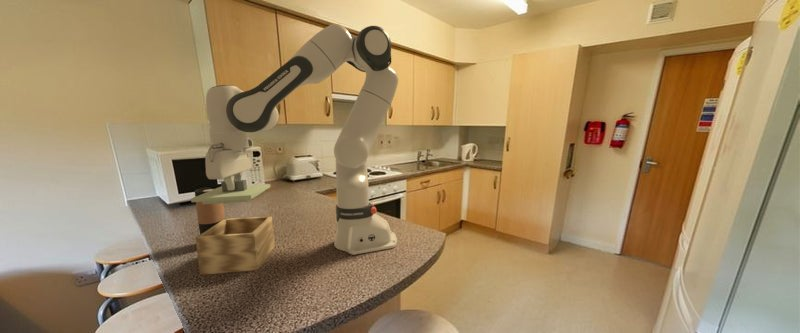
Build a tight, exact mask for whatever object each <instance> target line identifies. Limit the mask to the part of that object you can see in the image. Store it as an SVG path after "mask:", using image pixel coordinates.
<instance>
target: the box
mask: <svg viewBox="0 0 800 333" xmlns="http://www.w3.org/2000/svg"><path fill="white" fill-rule="evenodd" d="M273 221H274V219H273V215H272V216H256V217H255V216H254V217H239V218H237V217H236V218H235V217H234V218H225V219H224V220H222V221H221V222H219V223H218V224H216V225H214V226H213V227H211V228H210V229H208V230H207V231H205V232H204V233H202V234H201V235H200V234H199V235H197V236H196V237H195V238H194V239H195V246H196V253H197V259H198V260H197V261H198V268H199V275H200V276H204V275H215V274H216V275H217V274H227V273H237V272H249V271H258V270H259V269H260V267H261V266H262V265H263V263H265V261H266V259H267V258H268V256H269V255H270V254H271V253H272V251H273V249H274V248H275V247H276V246H275V245H276V243H275V233H274V232H275V231H274V222H273Z"/></svg>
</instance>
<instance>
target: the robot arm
mask: <svg viewBox="0 0 800 333" xmlns="http://www.w3.org/2000/svg"><path fill="white" fill-rule="evenodd" d="M344 63H347V64H348V65H351V66H352V67H354V68H355V69H356V70H358V71H360V72H363V73H365V79H364V82H363V85H362V87H361V89H360V91H359V93H358V95H357V97H356V99H355V102H354V104H353V106H352V107H351V110H350V113H349V115H348V116H347V119H346V121H345V123H344V125H343V127H342V129H341V131H340V133H339V136H338V137H337V140H336V142H335V143H334V147H333V155H334V157H335V181H336V182H335V184H336V186H335V187H336V206H335V218H336V223H337V224H336V233H335V238H334V242H333V244H334V245H333V246H334V247H335V248H336V249H338V250H339V251H343V252H346V253H347V254H348V255H349V254H350V255H352V256H353V255H361V254H365V253H372V252H377V251H382V250H389V249H393V248H395V247H397V245H398V238H397V235H396V233H395V232H393V231H392V230H391V227H390V224H389V223H388V221H387V220H386V219H385V218H383V217H382V216H380V215H379V214H377V207H376V206H375V205H374V203H373V202H372V203H371V202H370V198H369V197H370V196H369V195H370V194H369V193H370V192H369V174H368V173H369V172H368V158H369V156H370V153H371V150H372V148H373V146H374V143H375V141H376V138H377V136H378V134H379V131H380V129H381V126H382V124H383V121H384V119H385V117H386V116H387V114H388V111H389V110H390V107H391V105H392V102H393V100H394V97H395V94H396V91H397V88H398V84H399V76H398V74H397V72H396V71H395V70H394V69H393V68H392V67H390V65H391V64H392V42H391V37H390V35H389V34H388V32H387V31H386V30H385V29H384V28H382V27H381V26H378V25H370V26H366V27H364V28H362V29H361V30H360V31H359V32H358V34H357V35H354V34H352V33H350V32H349V30H348V29H347V28H346V27H345V26H344V25H341V24H339V23H332V24H330V25H328V26H326V27H324V28H322V29H321V30H320V31H318V32H317V33H316V34H315V35H313V36H312V37H311V38H310V39H308V40H307V41H306V42H305V43H304V44H303V45H302V46H301V47H300V48H299V49H298V50H297V51H296V52H295V53H294V55H292V56H291V57H290V58H289V59H288V61H287V62H285V63H284V64H283V65H281V66H280V67H279V68H278V69H276V70H275V71H274V72H273V73H272V74H270V75H269V76H268V77H266V79H264V80H263V81H261V82H260V83H259V84H258V85H256V86H255V87H253V88H252V89H249V90H246V91H244V90H242V89H240V88H239V87H238V86H236V85H231V84H222V85H221V84H220V85H215V86H212V87H210V88H208V90H206V91H207V92H206V96H205V107H206V110H205V111H206V118H207V120H208V122H209V139H210V145H209V148H208V149H207V152H206V153H205V159H204V160H205V161H204V162H205V176H206V177H207V179H208V180H223V181H225V183H226V185H227V189H228V190H234V189H236V183H234V181H233V180H243V173H244V172H245V171H248V170H252V169H253V166H254V153H253V149H252V148H253V147H254V141H253V140H252V139H251V138H249V137H248V136H247V133H255V132H262V131H263V132H264V131H269V130H271V129H273V128H274V127H275V126H276V125H277V124H278V122H279V120H280V113H279V110H278V109H277V106H278V105H280V103H281V102H283V101H284V100H285V99H286V98H287V97H288V96H289V95H290V94H292V93H293V92H294V91H295V90H297V89H299V88H300V87H302V86H305V85H309V84H311V85H312V84H320V83H322V82H323V81H325V80H326V79H327V78H329V77H331V76H332V74H334V73H335V72H336V71H337V70H338V69H339V68H340V67H341V66H343V64H344Z"/></svg>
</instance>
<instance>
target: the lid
mask: <svg viewBox="0 0 800 333" xmlns="http://www.w3.org/2000/svg"><path fill="white" fill-rule="evenodd" d="M233 181H234V183H236V189H234V190H228V189H227V185H226V183H225V181H224V180H223V181H221V182H220V183H221V186H218V187H219V188H217V187H216V189H215V188H213V189H214V190H211V191H209V192H206V193H204V194H201V195H199V196H196V197H195V196H194V197H192V198H190V201H191V203H196V202H202V204H218V203H223V204H234V203H249V202H250V201H251V200H253V199H256V197H258V196H259V195H262V194H263V193H265V191H266V190H268V189H269V188H271V183H264V184H247V180H246V179H242V180H234V179H233Z"/></svg>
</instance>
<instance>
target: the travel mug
mask: <svg viewBox="0 0 800 333" xmlns="http://www.w3.org/2000/svg"><path fill="white" fill-rule="evenodd" d="M219 187H220V186H217V187H216V188H219ZM216 188H211V187H203V188H198V189H196V190H194V197H196V196H199V195H201V194H204V193H206V192H209V191H211V190H214V189H216ZM195 206H196V207H195V208H196V215H197V224H198V229H199V235H201V234H202V233H204V232H205V231H207V230H208V229H210V228H211V227H213V226H214V225H216V224H218V223H219V222H221V221H222V220H224V219H226V214H225V207H224V203H218V204H202V202H195Z"/></svg>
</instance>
